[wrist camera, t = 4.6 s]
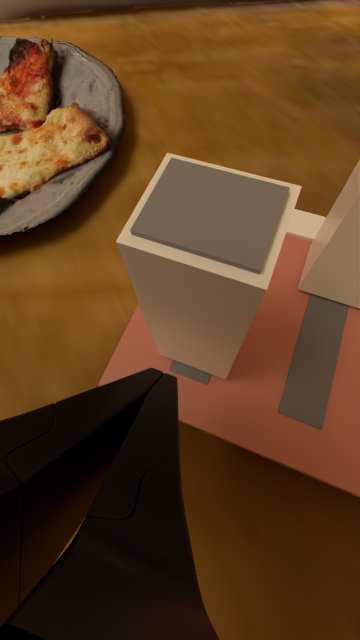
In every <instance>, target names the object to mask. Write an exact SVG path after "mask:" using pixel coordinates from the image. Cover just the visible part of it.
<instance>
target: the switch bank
mask: <svg viewBox="0 0 360 640" xmlns="http://www.w3.org/2000/svg"><path fill="white" fill-rule="evenodd" d="M325 219H326V217H323V216H319V215H315V214H311V213H308V212H304V211H300V210H296V209H294V211H293V214H292V217H291V220H290V222H289V225H288V228H287V231H286V234H285V237H284V240H283V243H282V246H281V249H280V252H279V255H278V258H277V261H276V264H275V267H274V270H273V273H272V276H271V279H270V282H269V285H268V288H267V291H266V293H265V295H264V298H263V300H262V302H261V304H260V306H259V308H258V311H257V313H256V315H255V317H254V319H253V321H252V324H251V326H250V328H249V330H248V332H247V334H246V337H245V339H244V341H243V343H242V345H241V347H240V350H239V352H238V354H237V356H236V358H235V360H234V363H233V365H232V367H231V369H230V371H229V374H228V376H227V378H226V380H225V379H222V378H220V377H217V376H214V375H212V374H209V373H207V372H204V371H201V370H199V369H196V368H194V367H191V366H188V365H186V364H183V363H181V362H178V361H175V360H173V359H170V358H168V357H165V356H162V355H160V354H159V353H158V351H157V348H156V345H155V343H154V340H153V338H152V335H151V332H150V330H149V327H148V325H147V322H146V319H145V317H144V314H143V311H142V309H141V306H140V304H138V306H137V308H136V310H135V312H134V314H133V316H132V318H131V320H130V322H129V324H128V326H127V328H126V330H125V332H124V334H123V336H122V338H121V340H120V342H119V344H118V346H117V348H116V350H115V352H114V354H113V356H112V358H111V360H110V362H109V364H108V366H107V368H106V370H105V372H104V374H103V376H102V378H101V380H100V382H99V384H98V386H102V385H105V384H107V383H110V382H113V381H115V380H118V379H121V378H124V377H126V376H129V375H132V374H135V373H137V372H140V371H143V370H146V369H148V368H155V369H158V370H160V371H163V372H164V373H168V374H170V375H173V376H176V377H177V379H178V410H179V422H181V423H184V424H186V425H188V426H191V427H193V428H195V429H198V430H200V431H203V432H205V433H207V434H210V435H212V436H214V437H217V438H219V439H221V440H224V441H226V442H229V443H231V444H233V445H236V446H238V447H240V448H243V449H245V450H247V451H250V452H252V453H255V454H257V455H259V456H262V457H264V458H266V459H269V460H271V461H274V462H276V463H278V464H281V465H283V466H285V467H288V468H290V469H292V470H295V471H297V472H300V473H302V474H304V475H307V476H309V477H311V478H314V479H316V480H318V481H321V482H323V483H326V484H328V485H330V486H333V487H335V488H337V489H340V490H342V491H344V492H347V493H349V494H352V495H354V496H356V497H359V498H360V309H359V308H356V307H353V306H350V305H346V304H343V303H340V302H337V301H334V300H330V299H327V298H324V297H321V296H318V295H314V294H311V293H308V292H305V291H302V290H298V286H299V283H300V279H301V276H302V272H303V269H304V265H305V262H306V259H307V255H308V252H309V248H310V245H311V244H312V242H313V240H314V238H315V237H316V235H317V233H318V231H319V230H320V228H321V226H322V224H323V223H324V221H325Z"/></svg>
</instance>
